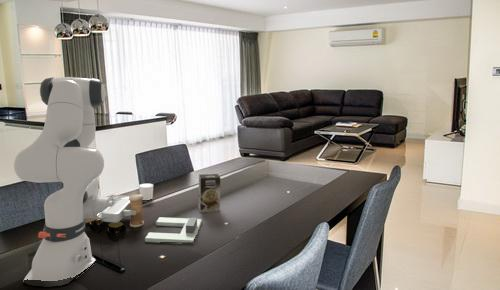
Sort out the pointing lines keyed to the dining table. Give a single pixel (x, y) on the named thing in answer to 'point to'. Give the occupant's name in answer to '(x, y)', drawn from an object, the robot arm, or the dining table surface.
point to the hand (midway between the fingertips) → (138, 209)
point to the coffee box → (209, 193)
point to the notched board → (186, 234)
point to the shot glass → (146, 191)
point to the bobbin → (137, 205)
